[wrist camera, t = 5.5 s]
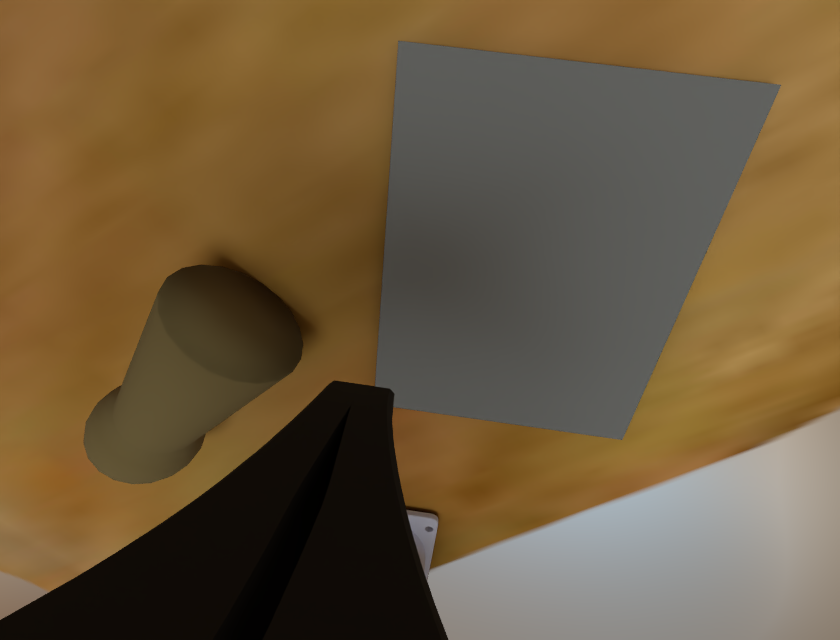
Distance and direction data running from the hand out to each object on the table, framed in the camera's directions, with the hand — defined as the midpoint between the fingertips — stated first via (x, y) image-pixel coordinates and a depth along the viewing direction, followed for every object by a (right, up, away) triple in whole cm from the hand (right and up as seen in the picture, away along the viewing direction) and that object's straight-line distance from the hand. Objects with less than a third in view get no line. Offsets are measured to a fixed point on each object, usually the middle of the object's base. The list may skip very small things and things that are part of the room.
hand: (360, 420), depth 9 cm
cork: (-6, +2, +8) cm, 10 cm away
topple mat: (+6, +4, +9) cm, 12 cm away
